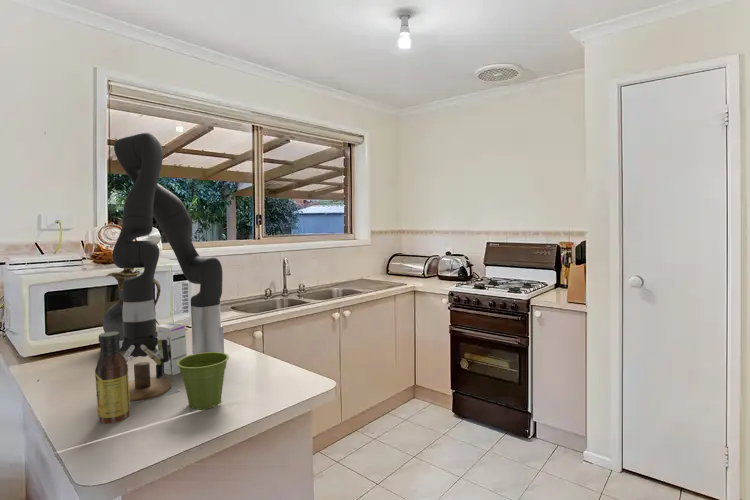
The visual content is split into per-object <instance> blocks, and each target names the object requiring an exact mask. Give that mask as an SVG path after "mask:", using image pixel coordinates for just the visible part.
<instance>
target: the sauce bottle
mask: <svg viewBox="0 0 750 500" xmlns="http://www.w3.org/2000/svg"><path fill="white" fill-rule="evenodd" d="M119 339H120V333H119V332H116V331H113V332H106V333H105V332H103V333H99V334H98V342H99V348H100V350H99V357H98V360H97V363H96V367H95V370H94V373H95V374H94V375H95V376H94V377H95V387H96V402H97V403H96V404H97V415H98V418H99V419H98V420H99V422H100V423H103V424H113V423H117V422H121V421H124V420H126V419H127V418H128V417H130V413H131V411H130V409H131V404H130V397H129V383H128V382H129V370H128V371H127V364H128V361H127V362H126V359H125V358H124V357H123V355H124V354H122V353H121V350H120V346H119Z"/></svg>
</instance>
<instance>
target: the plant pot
mask: <svg viewBox="0 0 750 500" xmlns="http://www.w3.org/2000/svg"><path fill="white" fill-rule="evenodd" d="M229 359H230V356H229V354H227V353H225V352H224V353H221V352H205V353H197V354H193V353H192V354H189V355H187V356H186V357H183V358H181V359H180V360H178V361H177V363H176V364H177V366H178V367H179V368H180V375H181V376H182V380H183V384H184V388H185V392H186V393H185V394H186V398H187V401H188V406H189V407H190V408H192V409H196V410H198V411H201V410H208V409H211V408H213V407H215V406H218V405H219V404H220V403H221V402H222V395H223V389H224V388H223V387H224V379H225V371H226V367H227V361H228V360H229Z"/></svg>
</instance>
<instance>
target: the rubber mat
mask: <svg viewBox="0 0 750 500" xmlns="http://www.w3.org/2000/svg"><path fill="white" fill-rule="evenodd" d="M176 393H180V389H178V388H176V387H175V386H174V385H173V384H172V383H171V389H170V390H169V391H168V392H166V393H164V394H162V395H160V396H157V397H154V398H151V399H146V400H141V401H131V402H130V405H134V404H137V403H141V402H145V401H148V400H152V399H157V398H160V397H163V396H169V395H173V394H176Z"/></svg>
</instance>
